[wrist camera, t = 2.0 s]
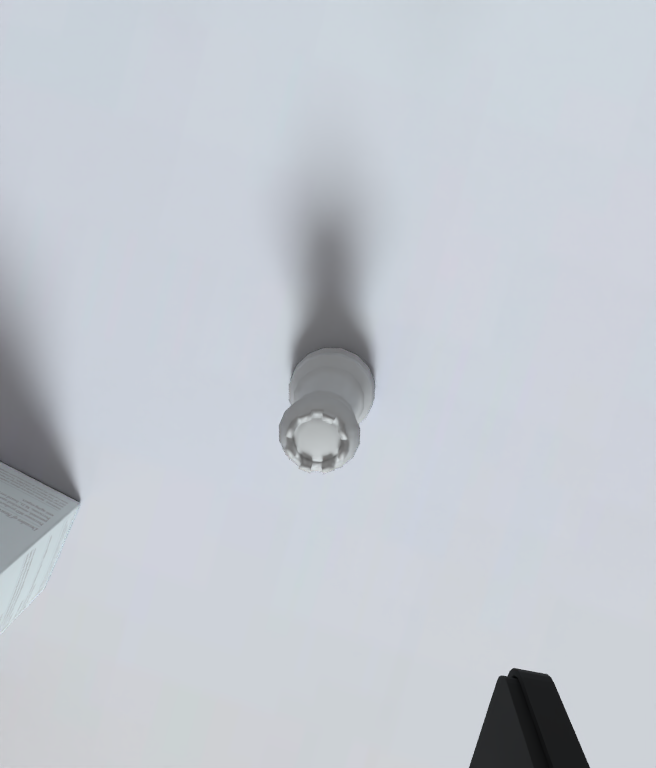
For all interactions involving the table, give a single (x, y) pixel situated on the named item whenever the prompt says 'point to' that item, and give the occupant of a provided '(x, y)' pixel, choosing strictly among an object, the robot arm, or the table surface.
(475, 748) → the robot arm
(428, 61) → the table surface
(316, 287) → the table surface
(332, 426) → the rook chess piece
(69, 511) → the supplement box
